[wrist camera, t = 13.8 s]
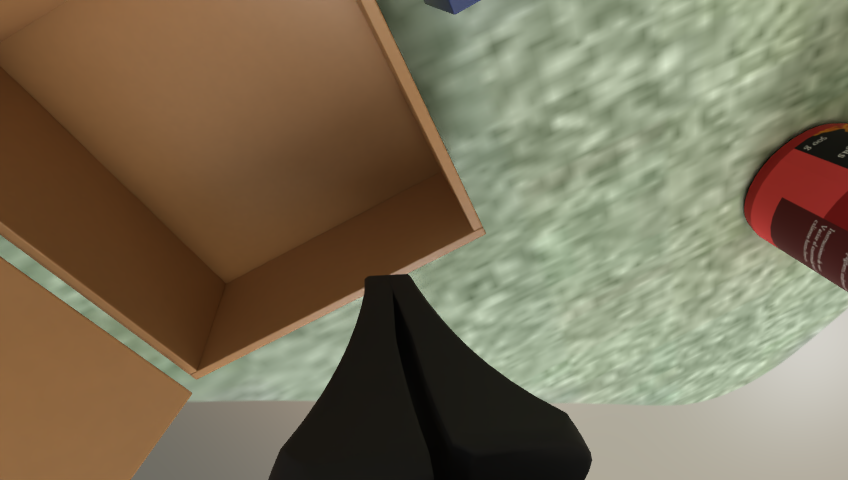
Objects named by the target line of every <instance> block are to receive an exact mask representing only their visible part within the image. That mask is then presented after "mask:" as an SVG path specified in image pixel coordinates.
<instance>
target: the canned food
mask: <svg viewBox="0 0 848 480" xmlns="http://www.w3.org/2000/svg"><path fill="white" fill-rule="evenodd" d="M744 213H745V218H746V220H747V222H748V224H749V225H750V226H751V227H752V229H753V230H754V231H755V232H756V233H757V234H758V235H759V236H760V237H762V238H763V239H765V240H766V241H768V242H770V243H771V244H773V245H774V246H776V247H777V248H779V249H781V250H782V251H784V252H785V253H787V254H789V255H790V256H792V257H793V258H795V259H796V260H798V261H800V262H801V263H803V264H804V265H806V266H808V267H809V268H811V269H812V270H814V271H815V272H817V273H819V274H820V275H822V276H823V277H825V278H827V279H828V280H830V281H831V282H833V283H834V284H836V285H838V286H839V287H841V288H842V289H844V290H846V291H847V292H848V123H831V124H825V125H821V126H817V127H815V128H812V129H810V130H807V131H805V132H803V133H802V134H800V135H798V136H797V137H795V138H793V139H792V140H790V141H789V142H788V143H786V144H785V145H784V146H782V147H781V148H780V149H779V150H778V151H777V152H776V153H775V154H773V155H772V156H771V157H770V159H769V160H768V161H767V162H766V163H765V164H764V165H763V166H762V168H761V169H760V171H759V172H758V173H757V175H756V176H755V178H754V180H753V182H752V184H751V186H750V187H749V190H748V193H747V196H746V199H745V205H744Z"/></svg>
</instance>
